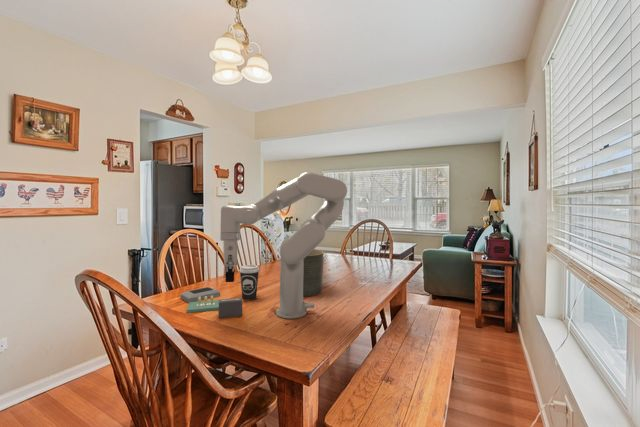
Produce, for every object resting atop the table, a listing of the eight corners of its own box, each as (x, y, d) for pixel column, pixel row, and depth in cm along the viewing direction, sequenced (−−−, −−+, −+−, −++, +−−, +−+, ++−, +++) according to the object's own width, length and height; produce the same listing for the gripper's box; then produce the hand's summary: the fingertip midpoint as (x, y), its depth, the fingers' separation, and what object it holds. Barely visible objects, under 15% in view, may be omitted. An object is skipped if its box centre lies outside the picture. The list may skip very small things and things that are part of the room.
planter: (319, 298, 144) (319, 256, 143) (274, 295, 148) (274, 254, 147) (325, 285, 166) (326, 249, 165) (286, 283, 169) (287, 248, 169)
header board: (222, 302, 137) (222, 291, 137) (222, 309, 128) (222, 298, 128) (189, 304, 133) (189, 294, 133) (186, 312, 123) (186, 301, 123)
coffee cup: (263, 297, 144) (263, 266, 143) (246, 302, 137) (246, 269, 136) (252, 293, 150) (252, 263, 150) (235, 297, 144) (235, 266, 143)
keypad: (180, 291, 142) (210, 285, 152) (180, 299, 142) (210, 292, 152) (189, 296, 135) (220, 289, 146) (189, 304, 135) (220, 297, 146)
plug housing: (241, 312, 125) (241, 297, 125) (242, 315, 121) (242, 300, 121) (218, 314, 122) (218, 299, 122) (218, 317, 119) (218, 302, 118)
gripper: (241, 238, 114) (240, 284, 114) (238, 233, 130) (238, 273, 131) (220, 239, 111) (219, 285, 112) (220, 234, 128) (219, 274, 128)
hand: (229, 278), depth 121 cm, fingers open, 9 cm apart
